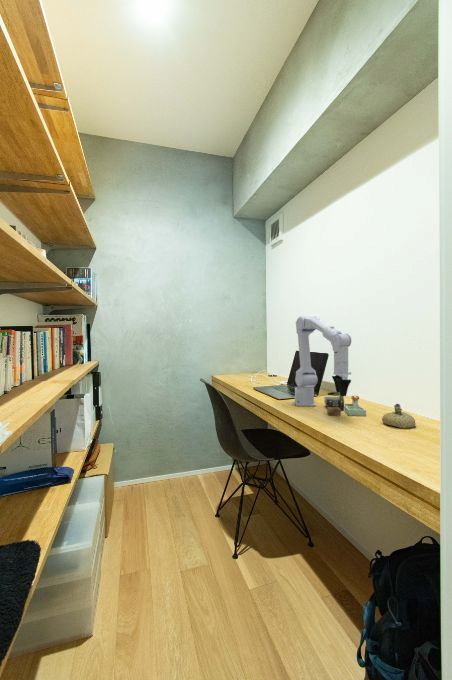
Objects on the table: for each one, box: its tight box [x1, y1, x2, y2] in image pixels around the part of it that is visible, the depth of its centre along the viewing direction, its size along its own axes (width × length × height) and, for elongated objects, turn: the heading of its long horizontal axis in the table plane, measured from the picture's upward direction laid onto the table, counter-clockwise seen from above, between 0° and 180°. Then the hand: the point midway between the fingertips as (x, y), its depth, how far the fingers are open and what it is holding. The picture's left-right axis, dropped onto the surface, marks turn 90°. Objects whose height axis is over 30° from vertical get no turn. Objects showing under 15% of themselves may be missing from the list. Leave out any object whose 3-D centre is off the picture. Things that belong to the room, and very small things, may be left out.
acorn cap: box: [381, 403, 416, 429], centre depth 120 cm, size 10×11×10 cm
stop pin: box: [350, 395, 360, 410], centre depth 137 cm, size 3×3×7 cm
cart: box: [323, 392, 345, 411], centre depth 147 cm, size 8×10×7 cm
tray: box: [344, 405, 367, 417], centre depth 137 cm, size 7×7×2 cm
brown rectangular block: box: [326, 406, 342, 417], centre depth 136 cm, size 5×4×3 cm
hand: (341, 394), depth 131 cm, fingers open, 7 cm apart
